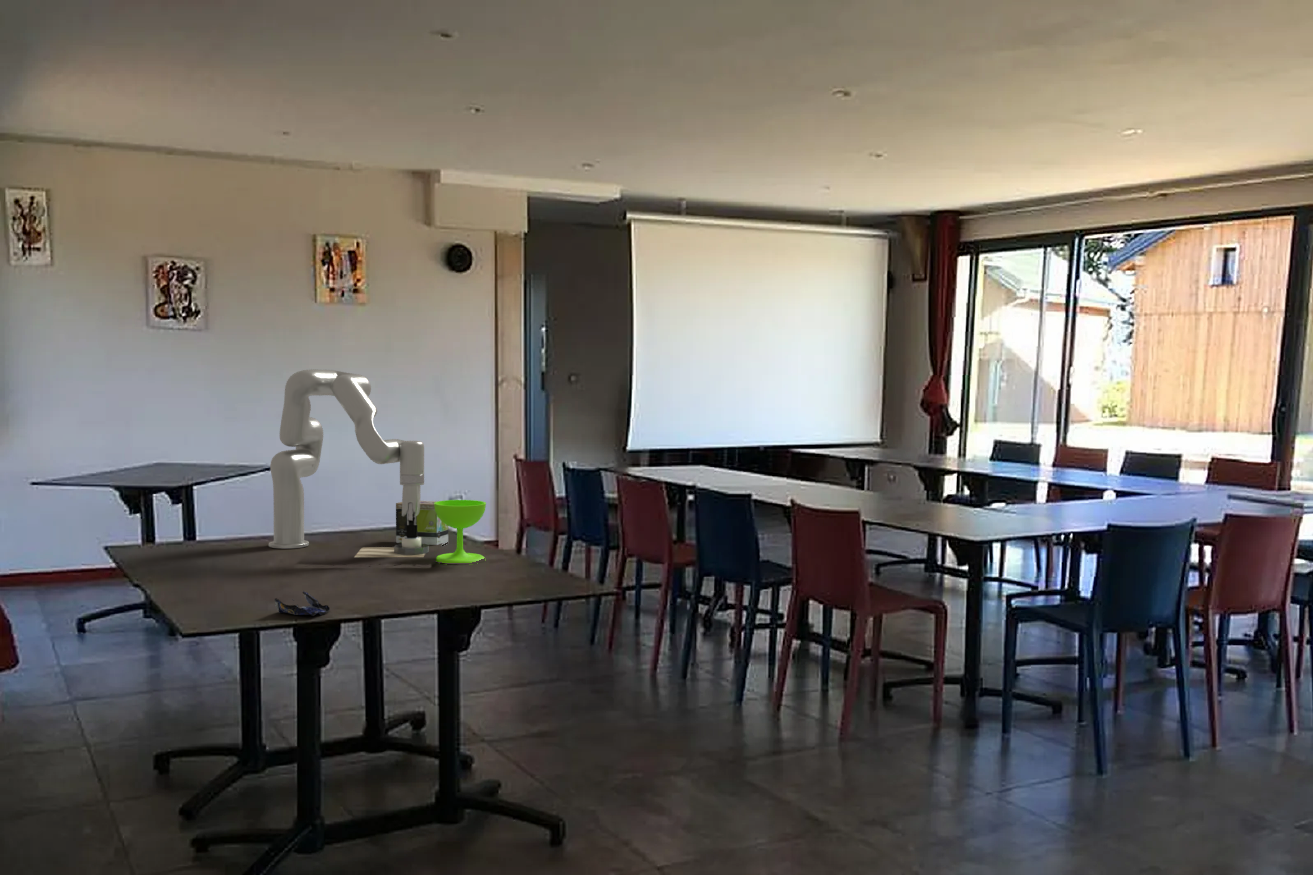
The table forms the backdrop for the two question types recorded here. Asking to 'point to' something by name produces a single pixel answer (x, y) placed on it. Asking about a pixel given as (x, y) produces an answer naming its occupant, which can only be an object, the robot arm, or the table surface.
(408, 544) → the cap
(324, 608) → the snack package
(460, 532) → the wineglass
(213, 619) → the table surface
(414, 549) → the grey faceted ring
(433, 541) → the tea box
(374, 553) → the board
